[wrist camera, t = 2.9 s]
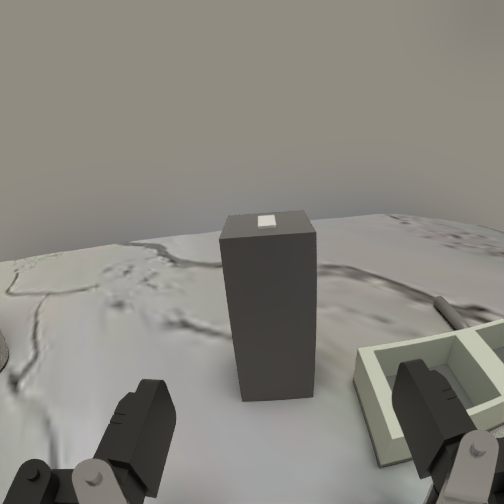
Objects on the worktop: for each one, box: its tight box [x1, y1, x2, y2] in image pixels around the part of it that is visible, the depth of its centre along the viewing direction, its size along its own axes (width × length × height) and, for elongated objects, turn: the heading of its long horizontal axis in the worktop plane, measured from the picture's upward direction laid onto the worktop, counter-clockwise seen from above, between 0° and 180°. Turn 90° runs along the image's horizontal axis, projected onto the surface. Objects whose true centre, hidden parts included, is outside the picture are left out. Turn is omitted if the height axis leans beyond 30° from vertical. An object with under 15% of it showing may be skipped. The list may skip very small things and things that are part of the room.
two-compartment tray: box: [353, 296, 504, 468], centre depth 20 cm, size 17×18×3 cm
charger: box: [219, 211, 317, 402], centre depth 20 cm, size 5×5×12 cm
